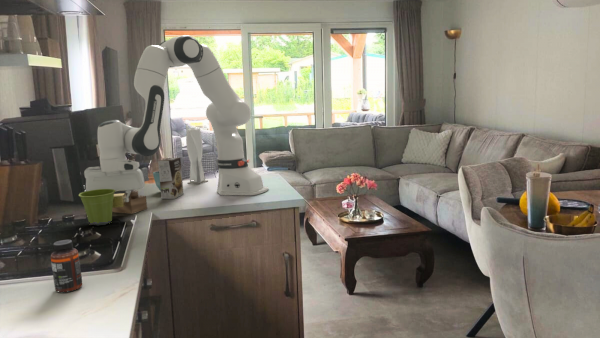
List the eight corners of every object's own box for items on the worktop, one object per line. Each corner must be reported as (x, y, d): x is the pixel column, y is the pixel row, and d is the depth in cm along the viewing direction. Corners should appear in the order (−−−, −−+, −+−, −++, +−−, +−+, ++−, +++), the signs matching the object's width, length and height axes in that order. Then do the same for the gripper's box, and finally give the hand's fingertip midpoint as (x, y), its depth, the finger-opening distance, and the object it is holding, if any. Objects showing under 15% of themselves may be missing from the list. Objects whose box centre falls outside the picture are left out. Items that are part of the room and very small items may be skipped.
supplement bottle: (81, 281, 127) (75, 236, 126) (84, 289, 122) (78, 242, 120) (54, 287, 125) (48, 241, 123) (56, 295, 120) (49, 247, 118)
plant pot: (76, 225, 182) (72, 193, 181) (108, 218, 191) (104, 187, 189) (92, 230, 174) (88, 197, 173) (125, 222, 183) (121, 190, 181)
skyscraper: (185, 183, 253) (179, 125, 248) (194, 180, 260) (190, 123, 255) (199, 184, 249) (194, 124, 245) (209, 180, 256) (204, 123, 252)
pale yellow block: (123, 206, 191) (122, 196, 191) (109, 207, 191) (108, 197, 190) (126, 203, 196) (125, 193, 196) (112, 204, 196) (111, 194, 195)
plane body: (147, 208, 203) (145, 189, 202) (132, 213, 196) (130, 193, 195) (118, 206, 210) (116, 187, 208) (102, 211, 203) (100, 192, 201)
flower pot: (166, 193, 230) (165, 173, 229) (154, 192, 235) (152, 172, 234) (182, 190, 237) (180, 170, 235) (169, 188, 242) (168, 169, 241)
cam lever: (128, 197, 199) (125, 172, 198) (124, 197, 201) (121, 172, 199) (150, 191, 209) (147, 167, 207) (146, 191, 210) (144, 167, 208)
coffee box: (175, 198, 219) (171, 160, 216) (160, 198, 220) (157, 160, 217) (184, 194, 227) (181, 157, 225) (170, 194, 229) (167, 157, 226)
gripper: (81, 168, 187) (85, 206, 189) (140, 164, 189) (144, 202, 192) (85, 166, 193) (90, 203, 195) (143, 162, 195) (147, 198, 198)
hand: (117, 202), depth 193 cm, fingers closed on pale yellow block, 5 cm apart
